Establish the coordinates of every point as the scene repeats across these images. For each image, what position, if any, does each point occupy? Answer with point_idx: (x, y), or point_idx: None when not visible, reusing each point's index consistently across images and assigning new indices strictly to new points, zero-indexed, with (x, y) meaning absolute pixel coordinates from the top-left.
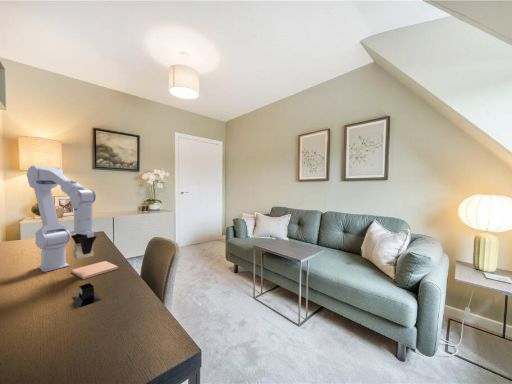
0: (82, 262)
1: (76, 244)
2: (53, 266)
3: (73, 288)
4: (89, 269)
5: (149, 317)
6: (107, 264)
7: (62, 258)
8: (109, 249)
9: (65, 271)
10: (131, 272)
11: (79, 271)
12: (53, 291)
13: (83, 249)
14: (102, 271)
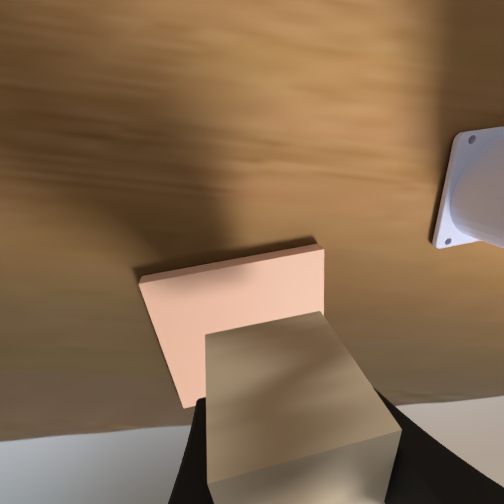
0: (426, 295)
1: (368, 456)
2: (469, 181)
3: (12, 222)
4: (248, 315)
5: None
6: None
7: (500, 236)
8: (490, 387)
9: (362, 221)
10: (81, 430)
11: (256, 276)
12: (34, 127)
13: (181, 463)
14: (165, 355)
